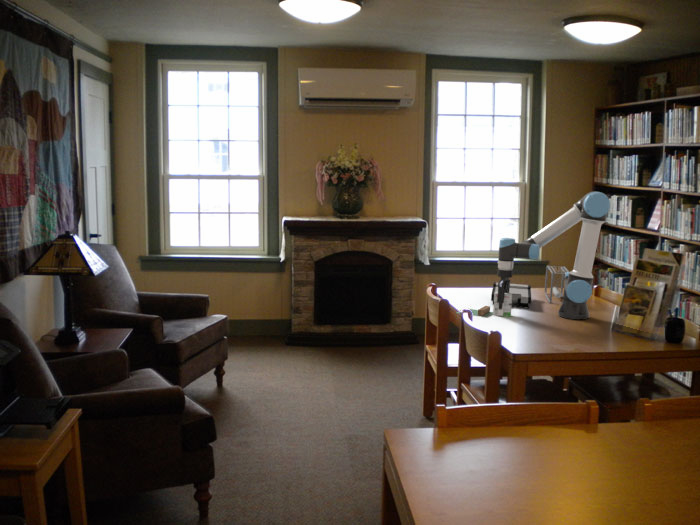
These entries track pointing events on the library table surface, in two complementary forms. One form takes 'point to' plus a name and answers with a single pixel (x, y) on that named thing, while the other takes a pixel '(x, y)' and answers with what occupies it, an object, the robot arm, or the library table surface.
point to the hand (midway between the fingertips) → (502, 314)
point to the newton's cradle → (554, 289)
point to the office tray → (516, 294)
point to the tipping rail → (483, 310)
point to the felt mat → (475, 313)
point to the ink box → (506, 302)
